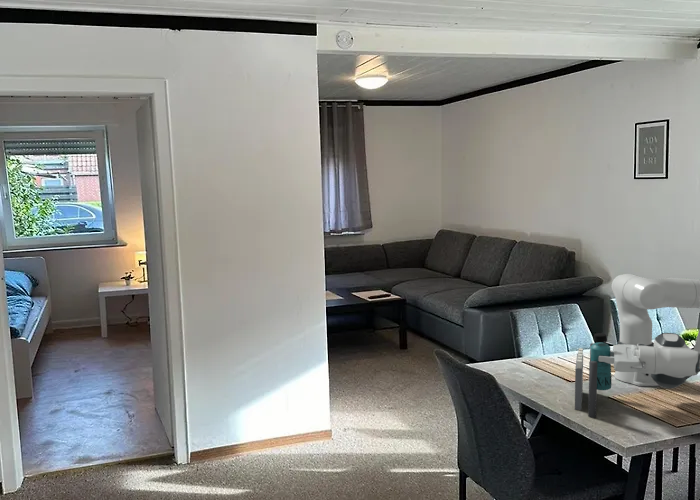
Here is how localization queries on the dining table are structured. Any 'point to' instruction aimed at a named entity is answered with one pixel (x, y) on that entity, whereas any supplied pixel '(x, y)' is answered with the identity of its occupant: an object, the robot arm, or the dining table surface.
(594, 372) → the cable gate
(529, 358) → the dining table surface
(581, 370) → the breaker panel
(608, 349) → the beverage bottle
